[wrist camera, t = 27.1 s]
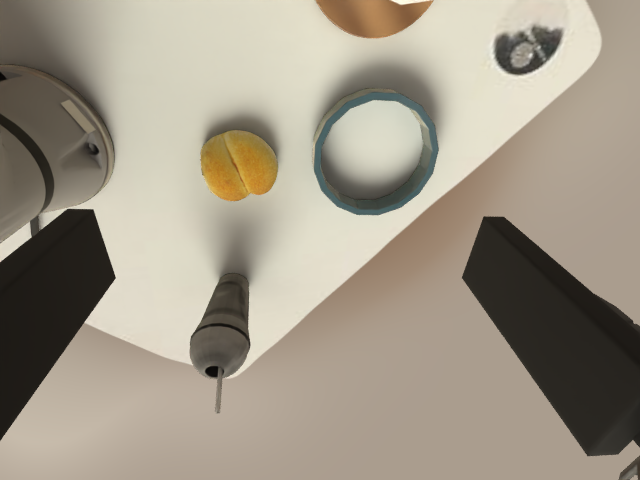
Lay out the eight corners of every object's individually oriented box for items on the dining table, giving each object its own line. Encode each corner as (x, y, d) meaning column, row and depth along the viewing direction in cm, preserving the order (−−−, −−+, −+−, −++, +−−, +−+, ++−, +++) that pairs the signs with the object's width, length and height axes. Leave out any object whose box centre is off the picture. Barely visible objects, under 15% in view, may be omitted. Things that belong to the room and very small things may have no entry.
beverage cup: (217, 259, 48) (178, 381, 31) (265, 274, 50) (252, 397, 33) (203, 294, 52) (160, 423, 35) (248, 307, 54) (229, 434, 37)
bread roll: (285, 184, 43) (285, 197, 40) (219, 200, 44) (213, 214, 40) (265, 119, 39) (263, 127, 35) (192, 138, 39) (183, 148, 36)
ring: (360, 224, 47) (364, 235, 45) (288, 149, 41) (287, 156, 38) (449, 155, 43) (460, 162, 40) (384, 58, 36) (391, 60, 34)
